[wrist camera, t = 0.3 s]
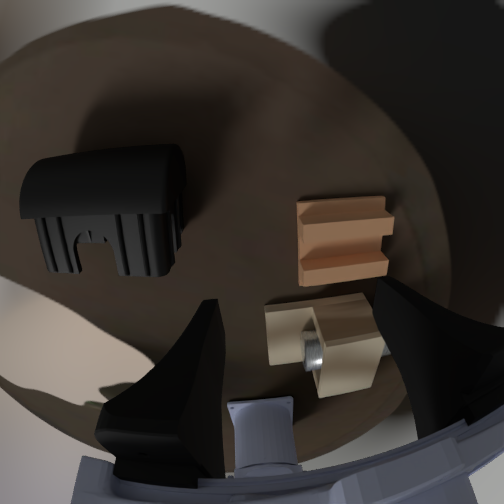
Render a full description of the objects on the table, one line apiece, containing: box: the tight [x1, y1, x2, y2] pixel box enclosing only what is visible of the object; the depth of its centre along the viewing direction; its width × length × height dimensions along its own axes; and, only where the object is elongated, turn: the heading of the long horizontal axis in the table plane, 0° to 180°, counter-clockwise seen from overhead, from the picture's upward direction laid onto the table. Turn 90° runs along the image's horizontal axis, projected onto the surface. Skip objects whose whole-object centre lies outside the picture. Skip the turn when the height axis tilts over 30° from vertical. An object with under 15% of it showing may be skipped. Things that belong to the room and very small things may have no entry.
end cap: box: [19, 144, 186, 277], centre depth 16 cm, size 10×7×7 cm
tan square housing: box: [265, 293, 385, 398], centre depth 23 cm, size 7×9×6 cm
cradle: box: [297, 196, 394, 287], centre depth 21 cm, size 7×7×2 cm
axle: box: [300, 330, 391, 371], centre depth 24 cm, size 10×4×4 cm, turn 95°
